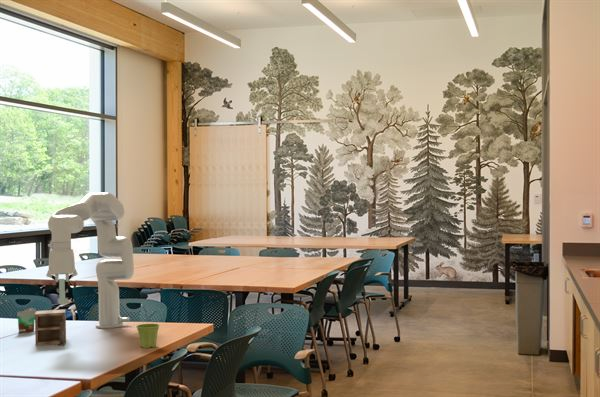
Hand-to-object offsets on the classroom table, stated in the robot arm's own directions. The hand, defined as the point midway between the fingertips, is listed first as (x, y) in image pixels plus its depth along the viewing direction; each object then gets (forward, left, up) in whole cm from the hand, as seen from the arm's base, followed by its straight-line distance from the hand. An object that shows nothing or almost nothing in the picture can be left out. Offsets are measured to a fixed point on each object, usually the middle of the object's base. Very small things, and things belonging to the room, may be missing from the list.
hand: (62, 290), depth 317 cm
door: (0, -1, -5) cm, 5 cm away
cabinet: (+5, -12, -23) cm, 27 cm away
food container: (+16, -46, -24) cm, 55 cm away
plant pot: (-34, +10, -24) cm, 42 cm away
